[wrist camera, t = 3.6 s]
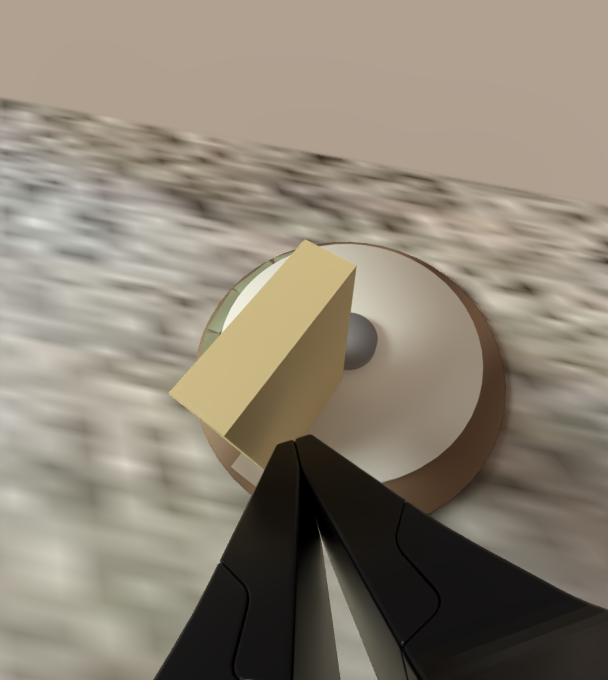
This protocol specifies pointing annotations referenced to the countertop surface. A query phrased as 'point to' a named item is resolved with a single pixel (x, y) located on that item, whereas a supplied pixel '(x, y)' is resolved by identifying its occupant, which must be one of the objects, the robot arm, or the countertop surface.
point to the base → (439, 474)
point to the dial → (341, 361)
